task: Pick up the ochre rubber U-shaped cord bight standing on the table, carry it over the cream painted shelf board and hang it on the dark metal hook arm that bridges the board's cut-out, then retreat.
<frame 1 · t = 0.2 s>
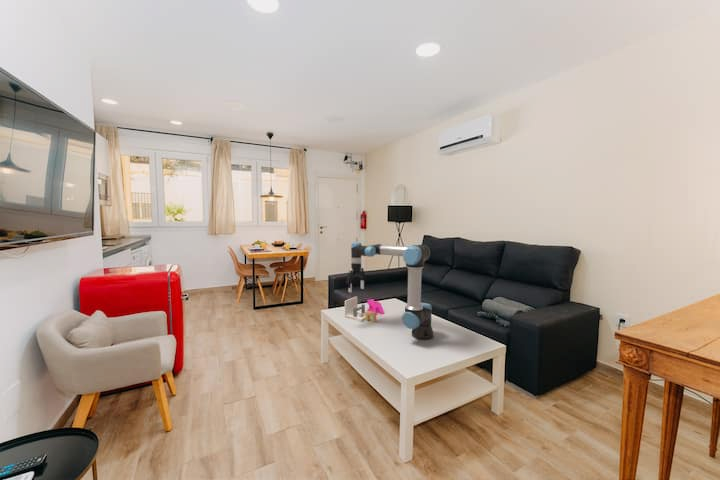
hand: (356, 290, 221), 27 cm above the table, fingers open, 13 cm apart
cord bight: (370, 321, 232), on the table
shelf: (359, 316, 241), on the table
magenta lumpy block: (375, 312, 252), on the table
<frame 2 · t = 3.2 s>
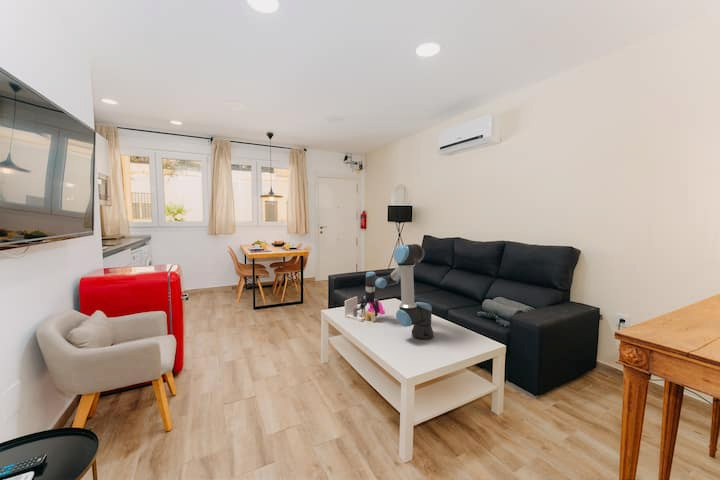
hand: (369, 318, 232), 2 cm above the table, fingers open, 10 cm apart
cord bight: (370, 321, 232), on the table, touching gripper
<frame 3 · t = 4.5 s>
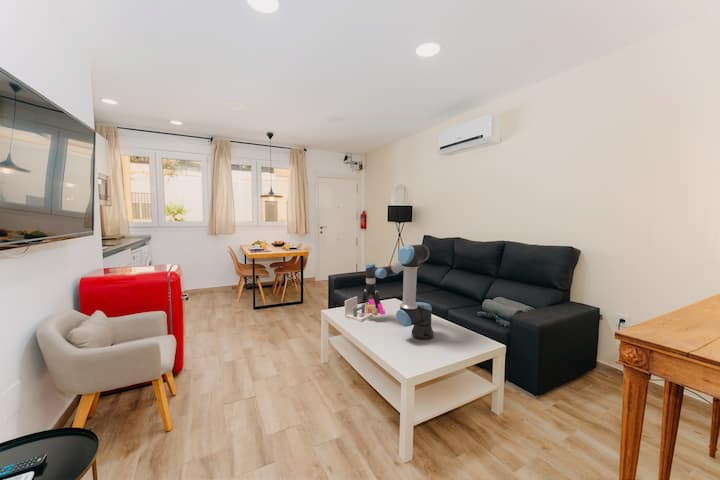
hand: (371, 311, 230), 8 cm above the table, fingers closed on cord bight, 8 cm apart
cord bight: (371, 313, 230), point 6 cm above the table, touching gripper
everything else where it was.
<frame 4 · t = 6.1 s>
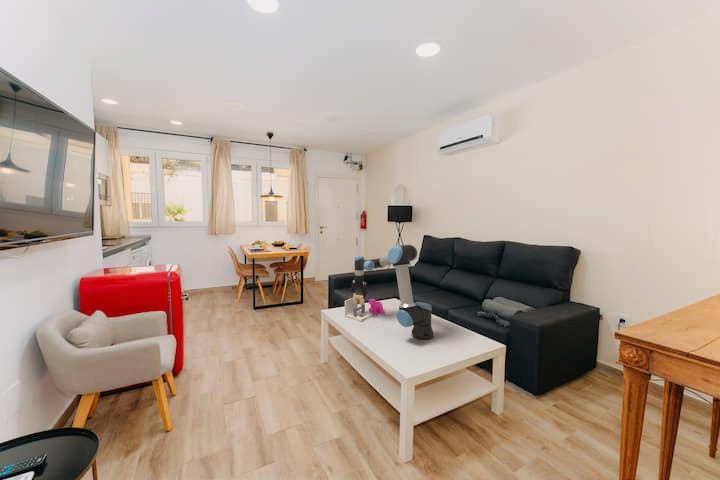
hand: (359, 301, 240), 13 cm above the table, fingers closed on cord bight, 8 cm apart
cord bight: (359, 304, 240), point 11 cm above the table, touching gripper
everything else where it was.
when the fingers open (6 cm above the table, at t = 8.0 s): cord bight stays where it is, resting on shelf.
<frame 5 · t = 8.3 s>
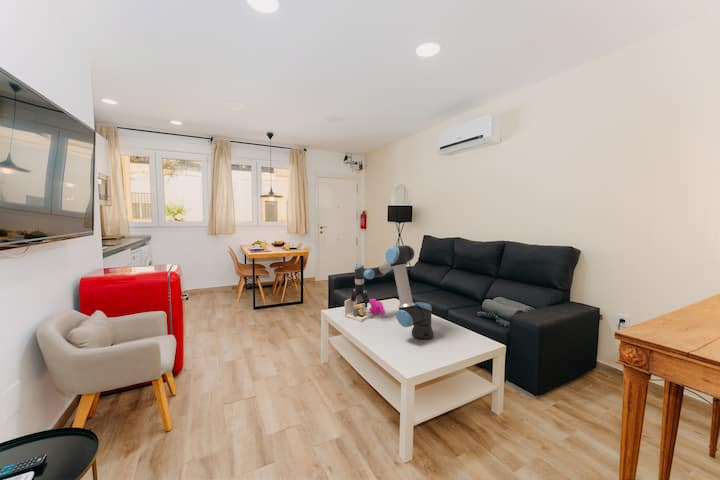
hand: (360, 310, 240), 6 cm above the table, fingers open, 10 cm apart
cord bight: (359, 313, 241), point 3 cm above the table, touching shelf
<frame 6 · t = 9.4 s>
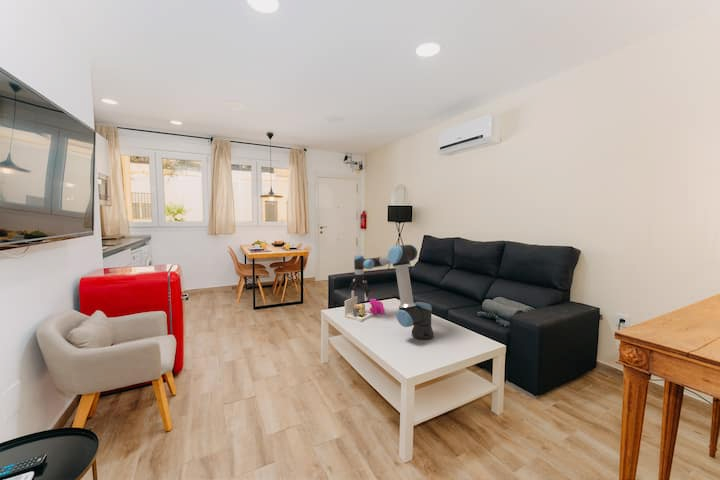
hand: (359, 299, 239), 15 cm above the table, fingers open, 13 cm apart
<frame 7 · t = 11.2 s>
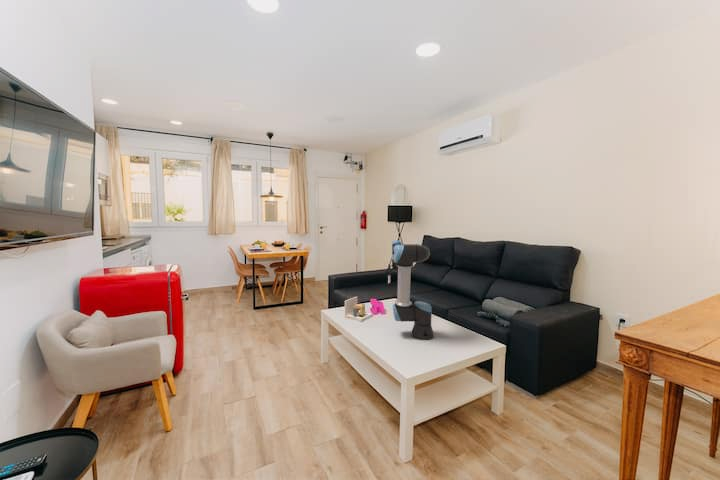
hand: (396, 283, 246), 26 cm above the table, fingers open, 13 cm apart
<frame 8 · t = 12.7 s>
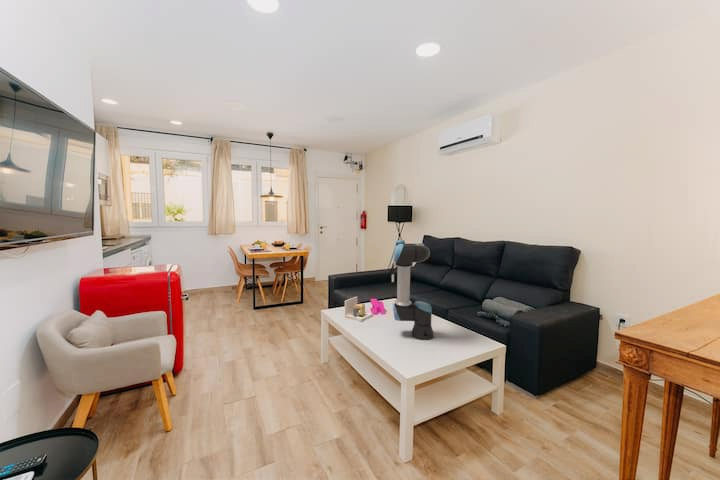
hand: (399, 283, 246), 27 cm above the table, fingers open, 13 cm apart
at the end: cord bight inside the target area on the shelf (0.1 cm from its centre), point 2.7 cm above the shelf's base; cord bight touching shelf; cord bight tilted 0° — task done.
